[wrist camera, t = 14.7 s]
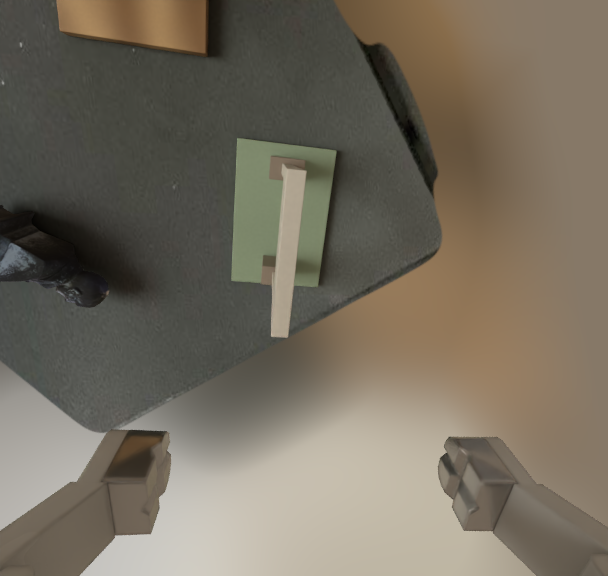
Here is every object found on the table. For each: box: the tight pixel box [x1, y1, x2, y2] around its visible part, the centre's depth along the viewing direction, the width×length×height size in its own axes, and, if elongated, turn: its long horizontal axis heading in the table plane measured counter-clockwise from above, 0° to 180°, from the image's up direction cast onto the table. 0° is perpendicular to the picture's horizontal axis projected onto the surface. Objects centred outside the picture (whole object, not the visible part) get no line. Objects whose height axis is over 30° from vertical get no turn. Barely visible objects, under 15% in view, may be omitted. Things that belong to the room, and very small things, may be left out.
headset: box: [261, 156, 307, 338], centre depth 30 cm, size 3×12×16 cm, turn 173°
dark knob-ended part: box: [0, 205, 109, 308], centre depth 34 cm, size 6×13×6 cm, turn 54°
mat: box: [231, 138, 337, 287], centre depth 37 cm, size 10×15×1 cm, turn 173°
